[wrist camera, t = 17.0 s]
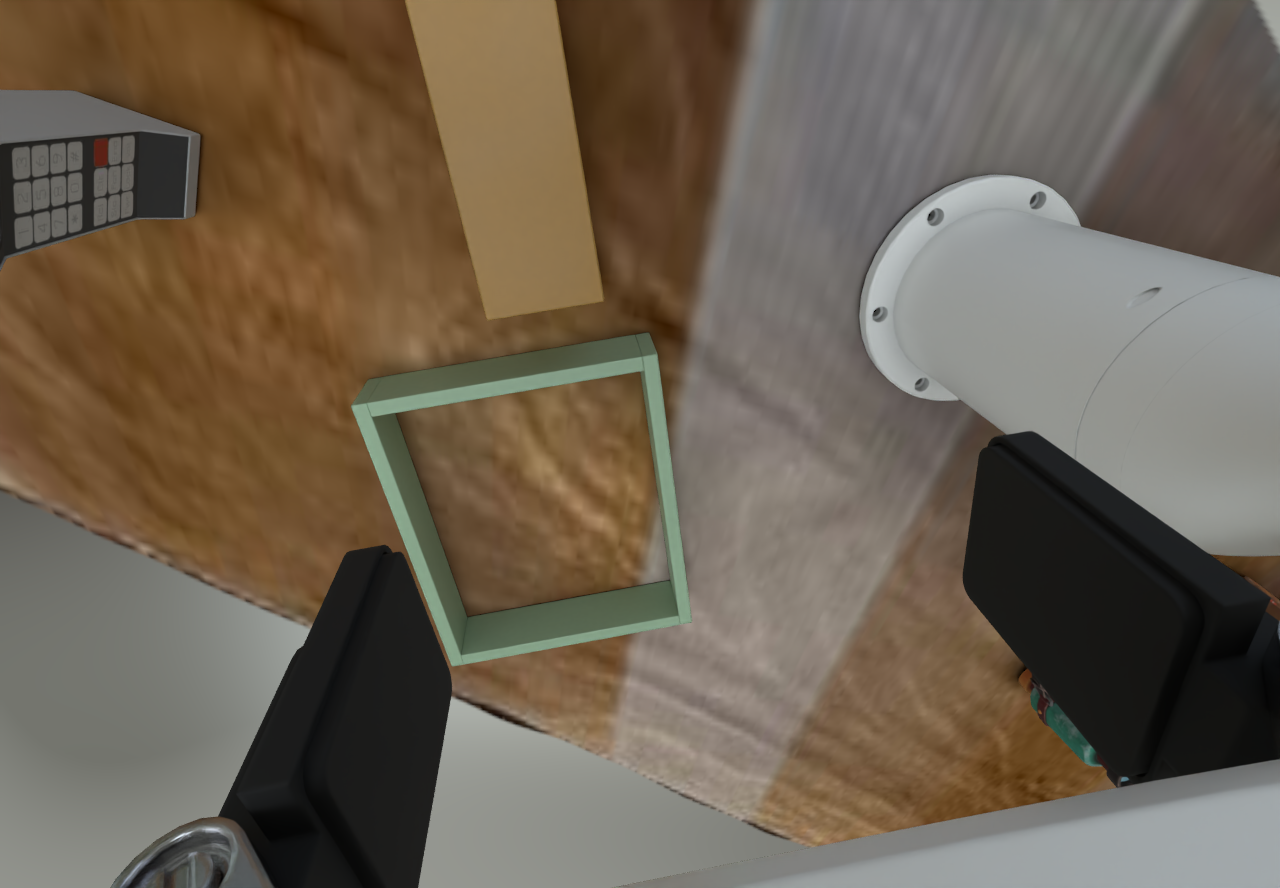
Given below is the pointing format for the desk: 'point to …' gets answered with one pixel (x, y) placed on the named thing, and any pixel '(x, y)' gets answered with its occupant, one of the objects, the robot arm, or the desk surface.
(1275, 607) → the tin
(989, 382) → the robot arm
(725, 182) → the desk surface
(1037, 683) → the binoculars
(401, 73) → the desk surface
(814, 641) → the desk surface
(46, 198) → the vintage mobile phone
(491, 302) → the tan wooden plank
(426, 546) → the green rectangular open frame
